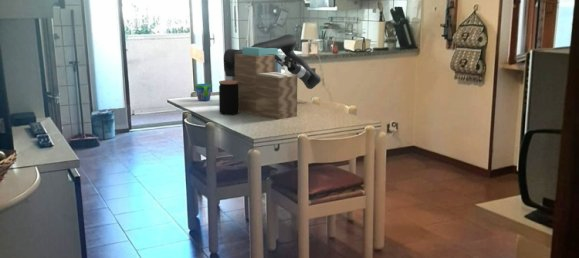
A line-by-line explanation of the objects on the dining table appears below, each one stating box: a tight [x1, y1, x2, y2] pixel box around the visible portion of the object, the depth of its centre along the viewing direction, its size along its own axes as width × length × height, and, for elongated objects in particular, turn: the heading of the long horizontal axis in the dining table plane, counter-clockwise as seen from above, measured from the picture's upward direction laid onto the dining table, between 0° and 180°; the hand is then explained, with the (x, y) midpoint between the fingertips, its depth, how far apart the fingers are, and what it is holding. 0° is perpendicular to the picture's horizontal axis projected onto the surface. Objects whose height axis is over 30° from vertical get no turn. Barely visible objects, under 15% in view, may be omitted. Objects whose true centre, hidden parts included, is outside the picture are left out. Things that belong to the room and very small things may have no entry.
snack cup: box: [194, 83, 213, 102], centre depth 358 cm, size 16×10×10 cm
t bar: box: [241, 46, 279, 56], centre depth 320 cm, size 19×14×4 cm
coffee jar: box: [218, 79, 240, 116], centre depth 313 cm, size 11×11×18 cm
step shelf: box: [235, 54, 298, 120], centre depth 313 cm, size 14×36×32 cm, turn 45°
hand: (279, 56), depth 330 cm, fingers open, 8 cm apart
